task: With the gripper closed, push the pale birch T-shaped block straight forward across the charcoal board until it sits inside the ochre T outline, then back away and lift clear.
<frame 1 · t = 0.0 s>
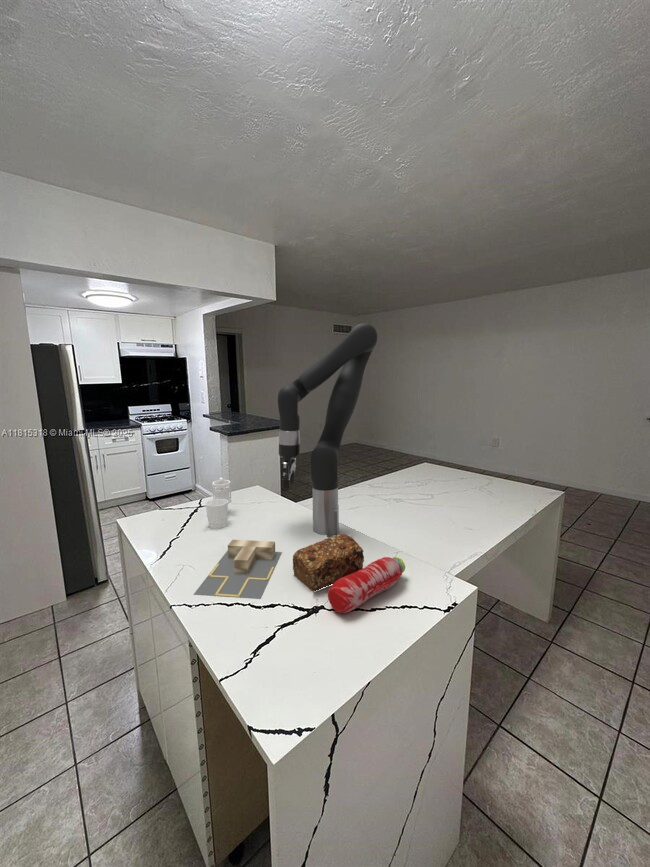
hand: (288, 486, 129), 17 cm above the countertop, tool pointing down, fingers open, 8 cm apart
white cup: (218, 527, 135), on the countertop
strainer: (223, 514, 147), on the countertop
t block: (252, 555, 112), point 1 cm above the countertop, touching target board
target board: (242, 574, 103), on the countertop
bread: (328, 576, 102), on the countertop
water bottle: (366, 592, 95), on the countertop
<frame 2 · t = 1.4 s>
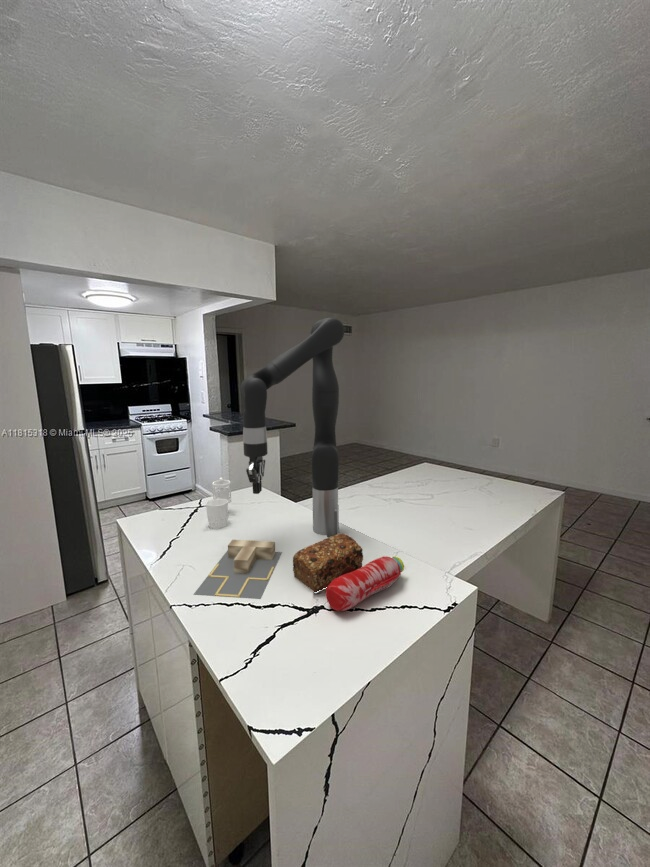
hand: (257, 492, 117), 19 cm above the countertop, tool pointing down, fingers closed
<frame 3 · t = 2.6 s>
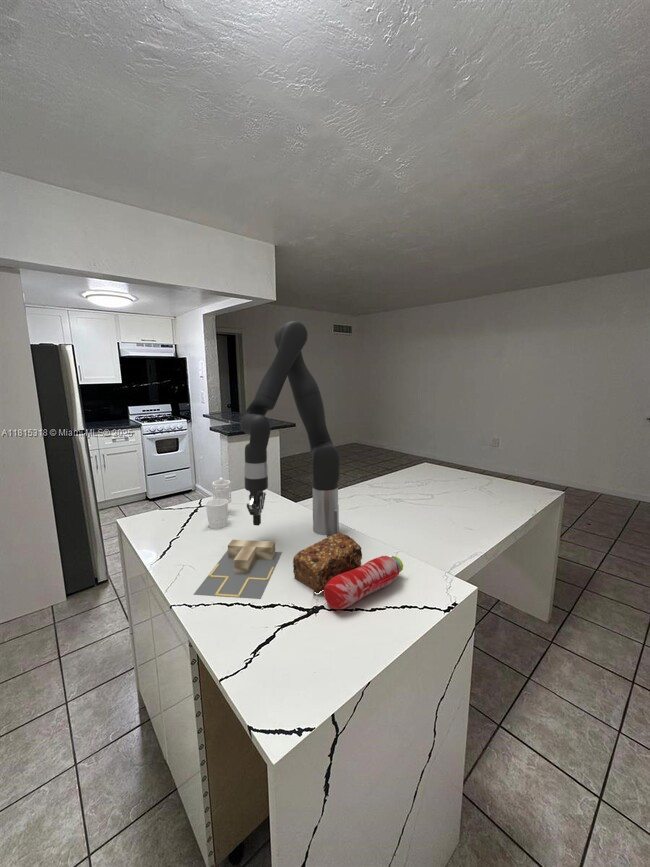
hand: (257, 524, 119), 8 cm above the countertop, tool pointing down, fingers closed
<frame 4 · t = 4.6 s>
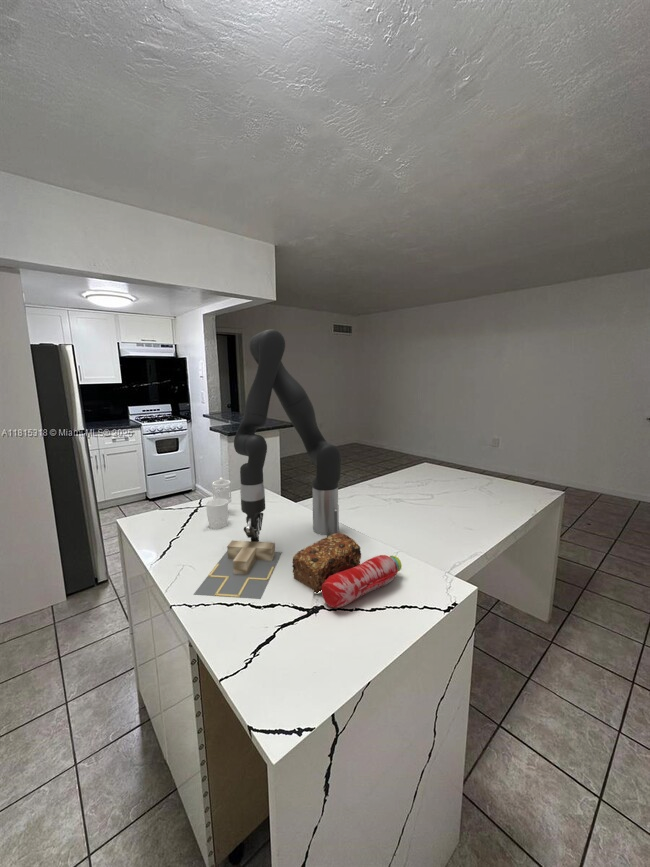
hand: (255, 546, 115), 2 cm above the countertop, tool pointing down, fingers closed
t block: (251, 556, 111), point 1 cm above the countertop, touching gripper
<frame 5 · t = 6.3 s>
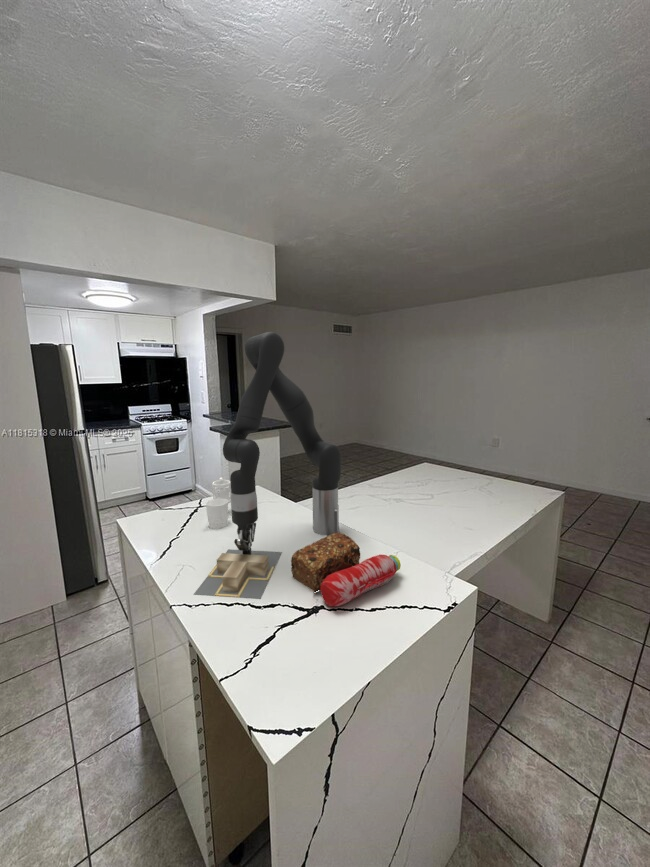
hand: (247, 559, 107), 2 cm above the countertop, tool pointing down, fingers closed
t block: (243, 570, 103), point 1 cm above the countertop, touching gripper, target board
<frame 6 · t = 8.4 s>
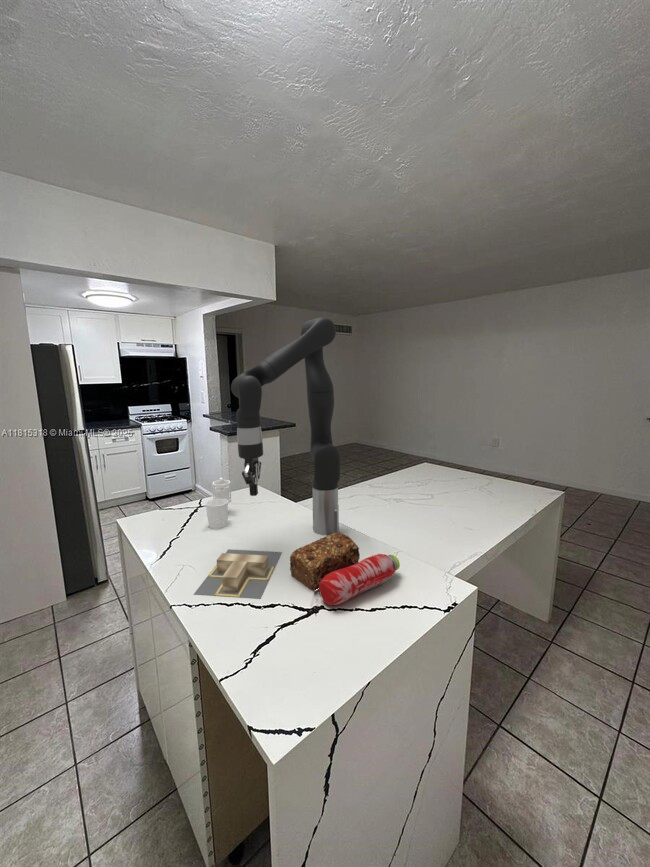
hand: (254, 494, 112), 20 cm above the countertop, tool pointing down, fingers closed
t block: (243, 570, 103), point 1 cm above the countertop, touching target board
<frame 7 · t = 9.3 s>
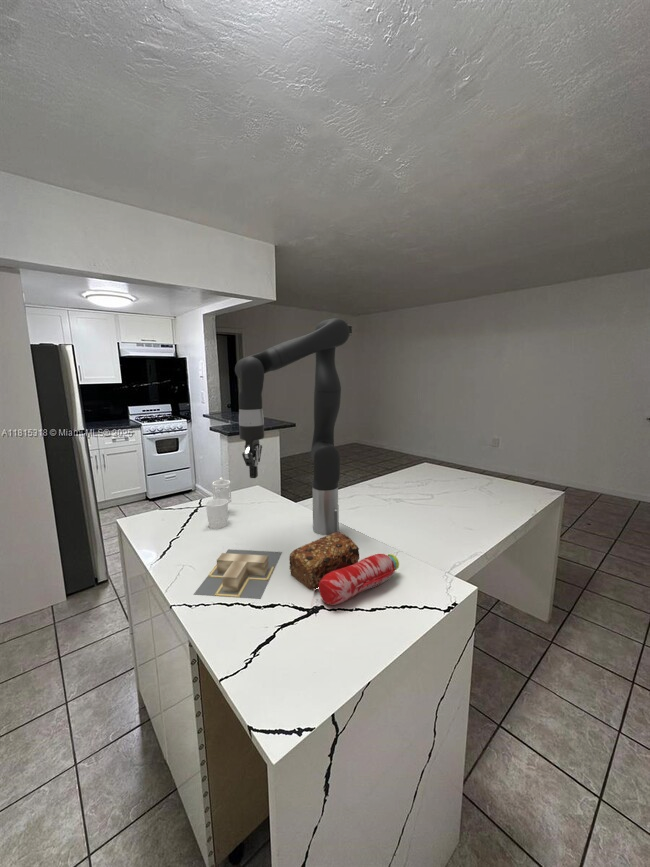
hand: (253, 477, 113), 25 cm above the countertop, tool pointing down, fingers closed
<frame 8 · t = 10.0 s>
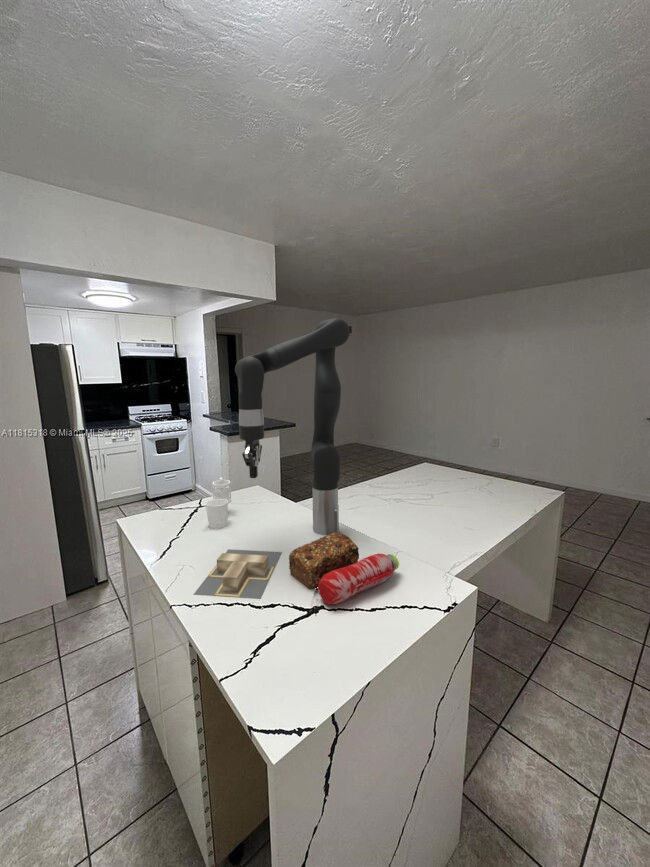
hand: (253, 477, 113), 25 cm above the countertop, tool pointing down, fingers closed
at the end: t block 0.6 cm from the target spot, point 1.0 cm above the countertop; t block tilted 0°; the gripper is holding nothing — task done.
